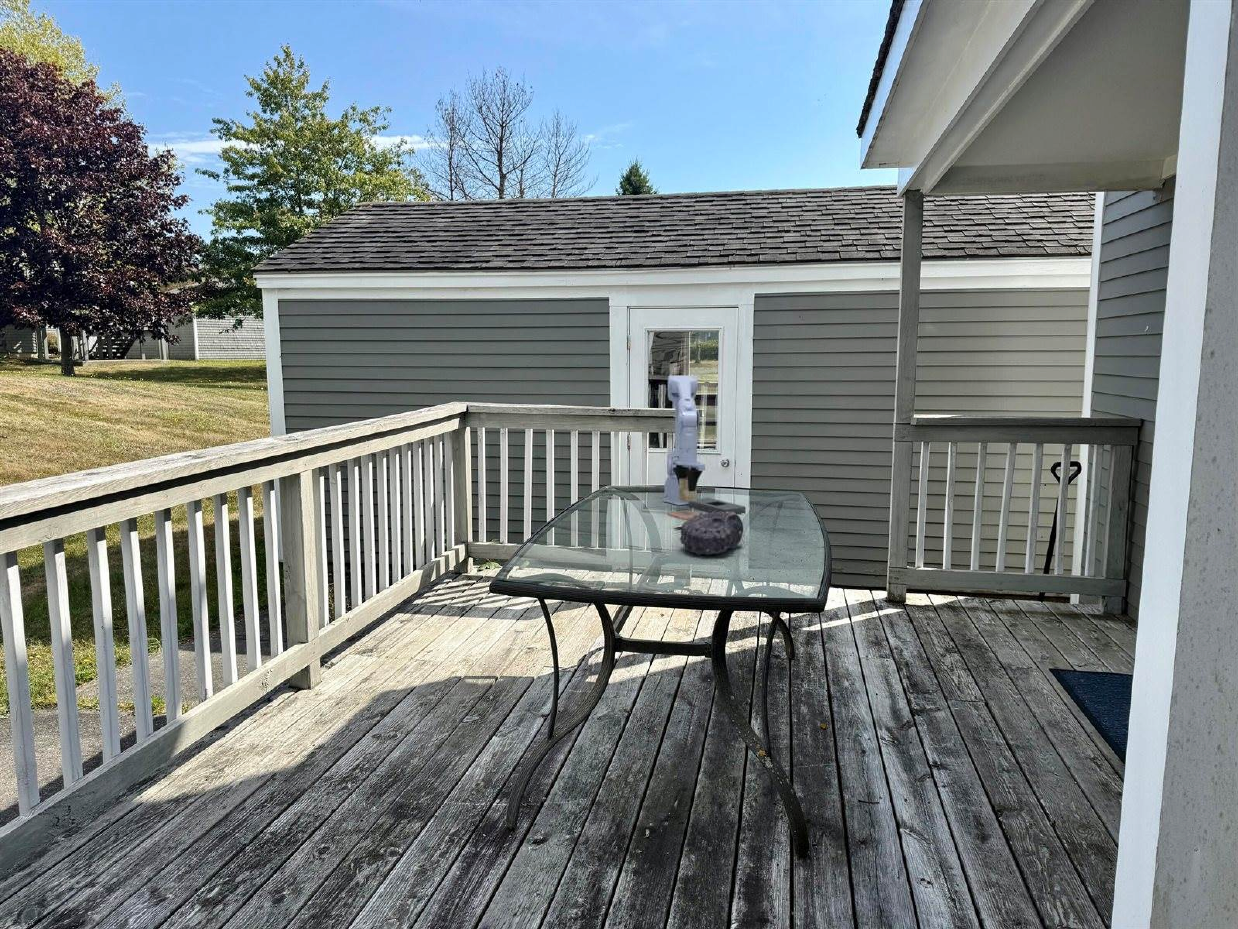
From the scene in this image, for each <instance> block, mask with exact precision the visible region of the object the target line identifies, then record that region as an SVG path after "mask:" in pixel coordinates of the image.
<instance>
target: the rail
mask: <svg viewBox="0 0 1238 929" xmlns="http://www.w3.org/2000/svg"><path fill="white" fill-rule="evenodd" d="M688 507H689V508H691V509H695V510H699V511H702V512H706V513H712V512H713V511H716V512H717V513H718V512H720V511H722V512H726V511H728V512H731V511H733V512H735V513H736V514H738V515H742V514H741V513H744V514H746V509H747V508H746V506H745V505H744V506H743V505H741V504H736V503H732V502H727V501H723V500H719V499H715V498H711V497H705V498H699V499H698V498H697V501H691V502H689V504H688Z"/></svg>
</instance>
